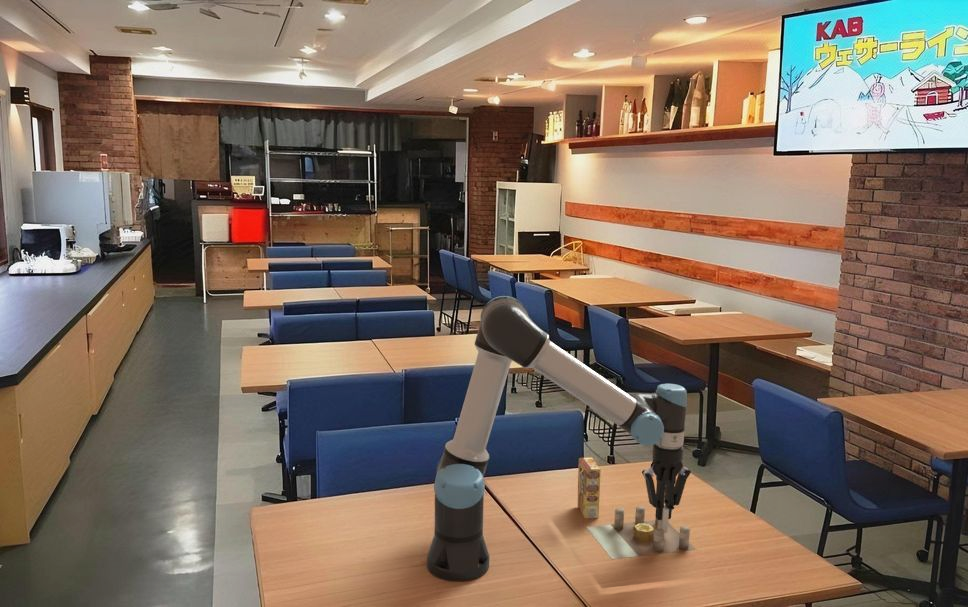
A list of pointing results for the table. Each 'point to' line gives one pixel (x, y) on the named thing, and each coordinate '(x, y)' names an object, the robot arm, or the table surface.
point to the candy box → (588, 487)
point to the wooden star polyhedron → (643, 532)
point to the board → (624, 544)
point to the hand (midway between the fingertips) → (662, 530)
